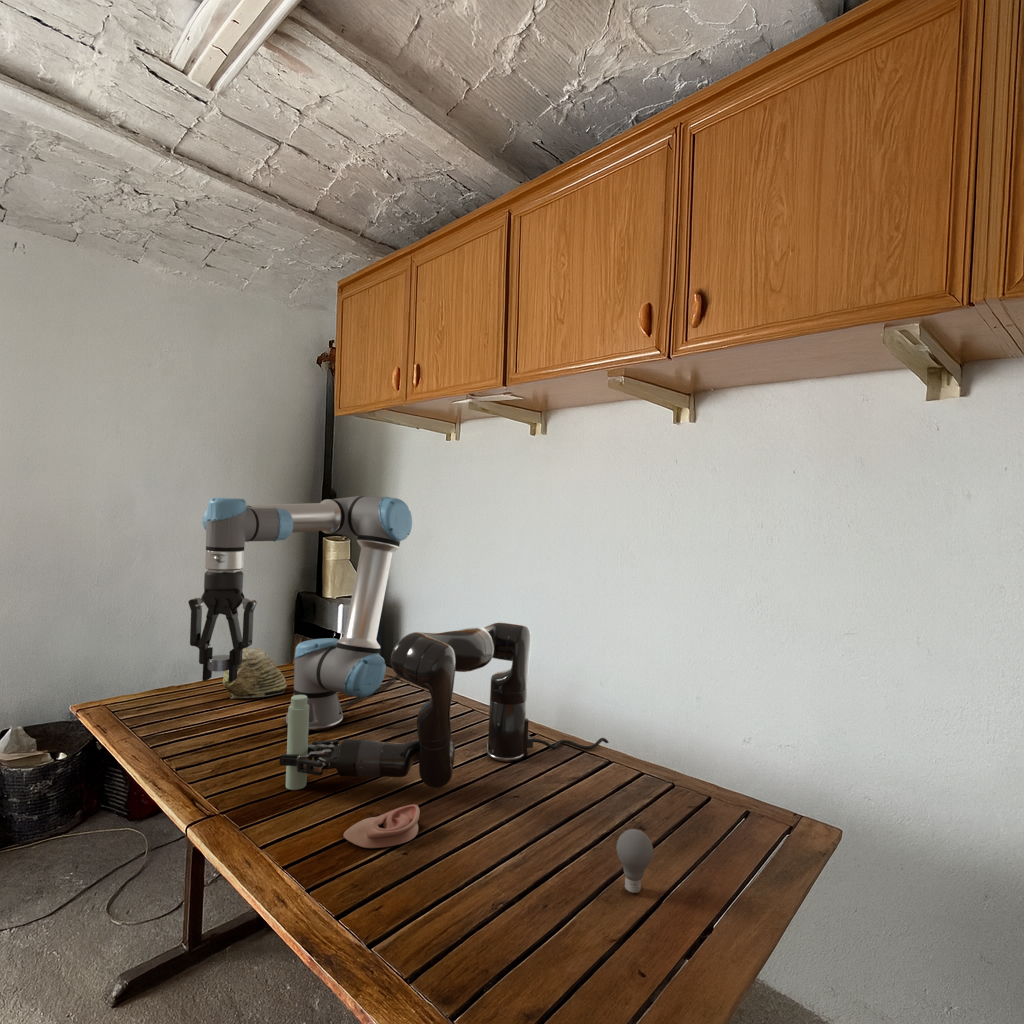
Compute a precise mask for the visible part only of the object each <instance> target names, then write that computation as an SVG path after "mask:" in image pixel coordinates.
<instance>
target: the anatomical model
mask: <svg viewBox="0 0 1024 1024" xmlns="http://www.w3.org/2000/svg"><path fill="white" fill-rule="evenodd" d="M420 814H421V813H420V807H419V805H417V804H408V805H404V806H400V807H397V808H395V809H392V810H390V811H388V812H385V813H383V814H380V815H378V816H372V817H367V818H364V819H361V820H360V821H358V822H356V823H354V824H353V825H351V826H350V827H348V828H347V829H346V830H345V831H344V833H343V835H342V836H343V838H344V839H345V840H346V841H348V842H349V843H352V844H353V845H355V846H358V847H360V848H364V849H380V848H388V847H395V846H399V845H402V844H405V843H407V842H410V841H412V840H414V839H415V838H416V836H417V835H418V832H419V823H418V821H419V819H420Z"/></svg>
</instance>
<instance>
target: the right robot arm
mask: <svg viewBox="0 0 1024 1024" xmlns="http://www.w3.org/2000/svg"><path fill="white" fill-rule="evenodd" d="M392 649H393V650H392V652H391V657H390V664H391V665H390V666H391V669H392V670H393V672H394V673H395V674H396V675H398V676H399V678H401V679H402V680H405V681H407V682H409V683H411V684H413V685H415V686H417V687H420V688H422V689H424V690H428V692H429V694H430V698H429V699H428V700H427V701H426V702H424V704H423V705H422V706H421V708H420V710H419V711H418V713H417V716H416V722H415V723H416V733H417V739H414V740H410V741H407V742H391V741H389V742H387V741H379V740H368V739H348V738H347V739H345V738H344V739H343V740H342V741H341V743H340V740H339V739H329V740H327V739H325V740H314V741H311V743H308V754H304V755H295V754H287V753H282V754H280V756H279V765H280V766H284V767H286V766H297V772H302V773H307V775H312V776H318V777H319V776H323V772H324V771H325V770H334V769H336V771H337V774H338V776H340V777H350V778H351V777H352V778H353V777H355V778H379V777H383V778H385V777H386V778H404V777H407V775H408V774H409V773H410V770H411V768H412V766H413V765H414V764H415V763H416V762H418V773H419V777H420V780H421V781H422V782H423V784H424V785H426V786H427V787H428V788H432V789H441V788H443V787H445V786H447V785H448V784H449V783H450V781H451V779H452V777H453V774H454V773H453V772H454V763H455V757H456V756H455V755H456V747H455V743H454V742H453V741H452V737H453V736H452V725H451V706H452V700H453V693H454V685H455V677H456V672H457V673H467V672H472V671H476V670H479V669H482V668H484V667H486V666H487V665H488V664H489V663H490V662H491V661H492V659H495V660H500V661H508V662H511V666H510V667H511V668H509V669H507V670H506V669H505V670H502V671H498V672H495V673H493V674H492V675H491V677H490V687H489V688H490V689H489V712H488V713H489V714H488V717H489V718H488V735H487V740H486V747H487V750H486V755H487V756H488V757H489V758H490V759H491V760H494V761H497V762H502V763H503V762H504V763H513V762H517V761H520V760H522V759H523V758H527V757H528V749H533V748H534V743H538V744H541V745H545V746H546V747H548V748H549V749H553V750H555V749H557V748H558V747H559V746H560V745H561V744H566V745H567V744H568V745H571V746H573V747H575V748H577V749H581V750H585V751H586V750H587V751H588V750H589V751H590V750H593V749H596V748H597V747H598V746H599V745H600V744H601V743H602V742H604V743H605V744H609V740H607V738H605V737H600V738H598V740H596V742H595V743H593V744H591V745H582V744H579V743H578V742H575V741H572V740H568V739H560V740H558V741H556V742H555V744H551V743H550V742H548V741H546V740H544V739H540V738H539V739H538V738H534V737H532V736H530V735H529V723H530V720H529V718H528V717H527V698H528V697H527V696H528V695H527V694H528V693H527V692H528V679H529V674H530V660H531V650H532V633H531V629H530V628H529V626H527V625H524V624H518V623H517V624H516V623H510V622H495V623H491V624H488V625H486V626H484V627H467V628H461V629H456V630H450V631H443V632H421V631H415V632H411V633H408V634H406V635H405V636H403V637H402V638H401V639H400V640H399V641H398V642H397V643H396V645H395V646H394V647H393V648H392Z"/></svg>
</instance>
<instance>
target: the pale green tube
mask: <svg viewBox="0 0 1024 1024" xmlns="http://www.w3.org/2000/svg"><path fill="white" fill-rule="evenodd" d="M307 700H308V698H307V696H306V695H295V696H294V695H292V696H291V697H290V704H291V705H290V704H289V706H288V709H287V713H288V727H287V735H286V737H287V738H286V754H295V755H304V754H308V744H309V732H308V729H309V705H308V704H307ZM285 770H286V771H285V788H286V789H287V790H289V791H290V790H291V791H297V790H301V789H304V788H305V787H306V786H307V778H308V774H307V773H302V772H297V766H285Z"/></svg>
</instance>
